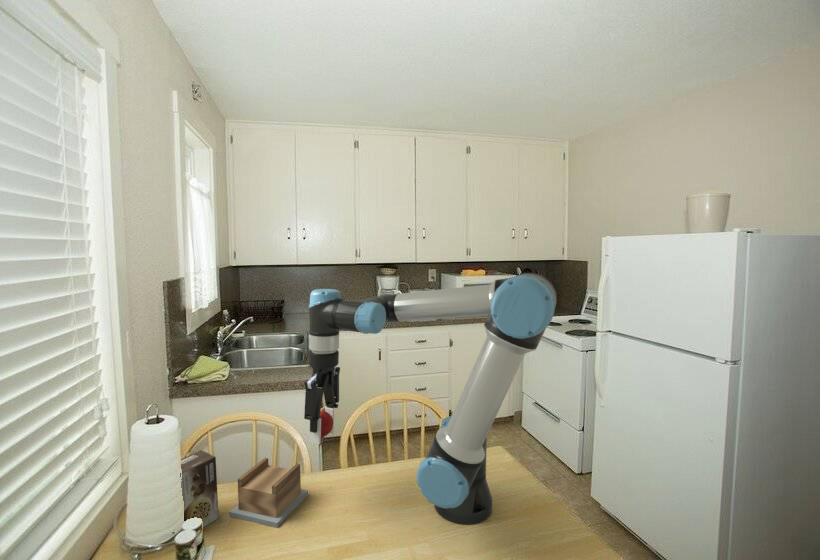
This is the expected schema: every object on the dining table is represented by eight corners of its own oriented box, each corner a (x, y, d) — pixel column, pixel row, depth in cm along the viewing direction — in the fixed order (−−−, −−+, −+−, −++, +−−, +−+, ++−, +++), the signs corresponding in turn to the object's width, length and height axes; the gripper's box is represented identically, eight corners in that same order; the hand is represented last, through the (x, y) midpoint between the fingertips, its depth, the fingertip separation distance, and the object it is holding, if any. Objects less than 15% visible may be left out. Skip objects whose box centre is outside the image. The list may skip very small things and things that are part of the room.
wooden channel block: (300, 492, 111) (300, 464, 110) (276, 518, 100) (275, 486, 100) (265, 485, 114) (265, 457, 113) (238, 509, 104) (237, 479, 103)
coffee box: (203, 509, 105) (201, 449, 104) (219, 518, 102) (217, 455, 101) (167, 530, 98) (164, 465, 96) (183, 540, 94) (180, 473, 93)
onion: (326, 445, 103) (327, 414, 102) (305, 441, 104) (306, 411, 104) (336, 434, 109) (337, 405, 108) (316, 431, 110) (317, 402, 109)
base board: (308, 494, 112) (308, 490, 112) (277, 527, 99) (277, 523, 99) (264, 485, 116) (264, 481, 116) (229, 516, 103) (229, 511, 103)
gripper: (329, 340, 114) (327, 420, 117) (289, 357, 97) (287, 451, 99) (353, 343, 112) (351, 425, 114) (316, 361, 94) (315, 457, 96)
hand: (322, 437), depth 107 cm, fingers closed on onion, 6 cm apart
